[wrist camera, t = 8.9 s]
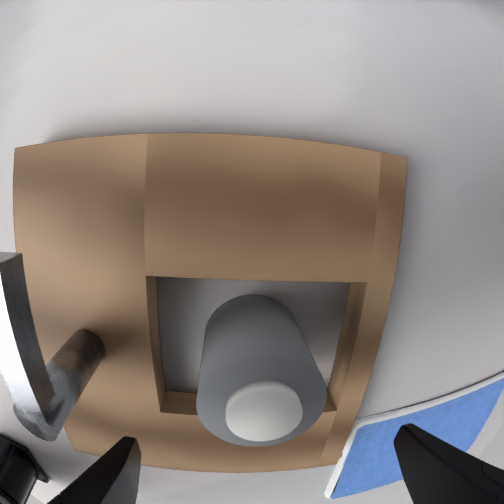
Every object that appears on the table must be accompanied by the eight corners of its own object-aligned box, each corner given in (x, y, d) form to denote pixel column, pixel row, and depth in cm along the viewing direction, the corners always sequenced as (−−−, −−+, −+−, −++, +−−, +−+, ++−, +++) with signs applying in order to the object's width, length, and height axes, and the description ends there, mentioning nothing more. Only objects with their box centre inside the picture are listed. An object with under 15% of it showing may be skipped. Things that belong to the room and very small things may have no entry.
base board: (329, 445, 18) (337, 463, 16) (83, 432, 17) (74, 449, 15) (386, 159, 14) (407, 157, 12) (35, 150, 12) (14, 148, 10)
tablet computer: (321, 493, 21) (324, 503, 20) (349, 413, 18) (355, 425, 17) (463, 445, 23) (468, 452, 21) (505, 364, 20) (513, 370, 18)
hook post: (108, 364, 13) (63, 446, 7) (76, 359, 13) (25, 432, 7) (92, 228, 11) (5, 264, 6) (56, 227, 11) (-33, 260, 5)
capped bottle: (291, 373, 16) (317, 451, 10) (205, 373, 16) (198, 455, 10) (302, 295, 15) (344, 361, 9) (204, 293, 15) (191, 363, 9)
